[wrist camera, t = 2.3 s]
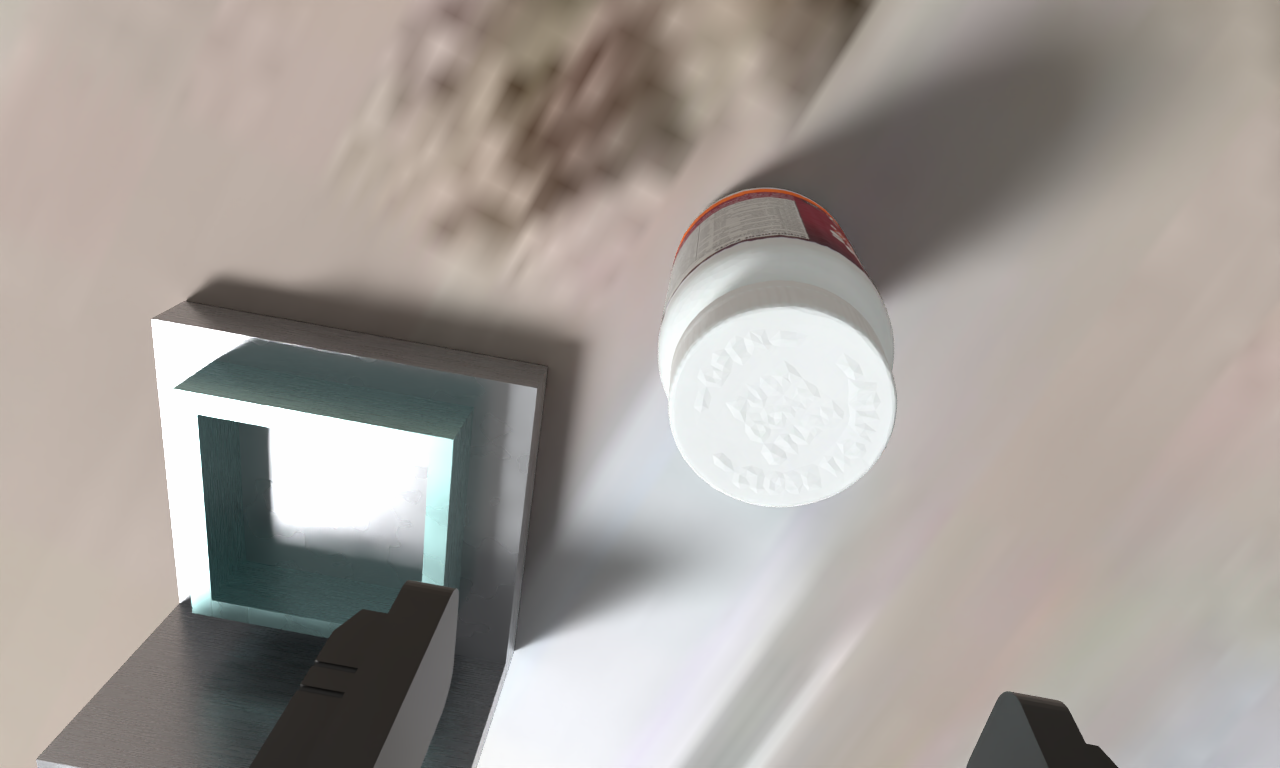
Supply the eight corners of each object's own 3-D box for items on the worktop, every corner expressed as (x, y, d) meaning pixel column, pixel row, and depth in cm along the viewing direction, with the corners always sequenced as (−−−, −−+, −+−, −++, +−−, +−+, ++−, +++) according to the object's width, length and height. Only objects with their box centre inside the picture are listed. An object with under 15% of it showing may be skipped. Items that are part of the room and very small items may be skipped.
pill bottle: (870, 323, 29) (954, 490, 19) (705, 374, 30) (699, 557, 20) (821, 155, 27) (886, 241, 17) (646, 219, 28) (606, 334, 18)
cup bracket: (548, 366, 31) (476, 512, 22) (513, 651, 37) (446, 861, 28) (184, 301, 31) (-37, 418, 22) (208, 595, 37) (41, 784, 28)
